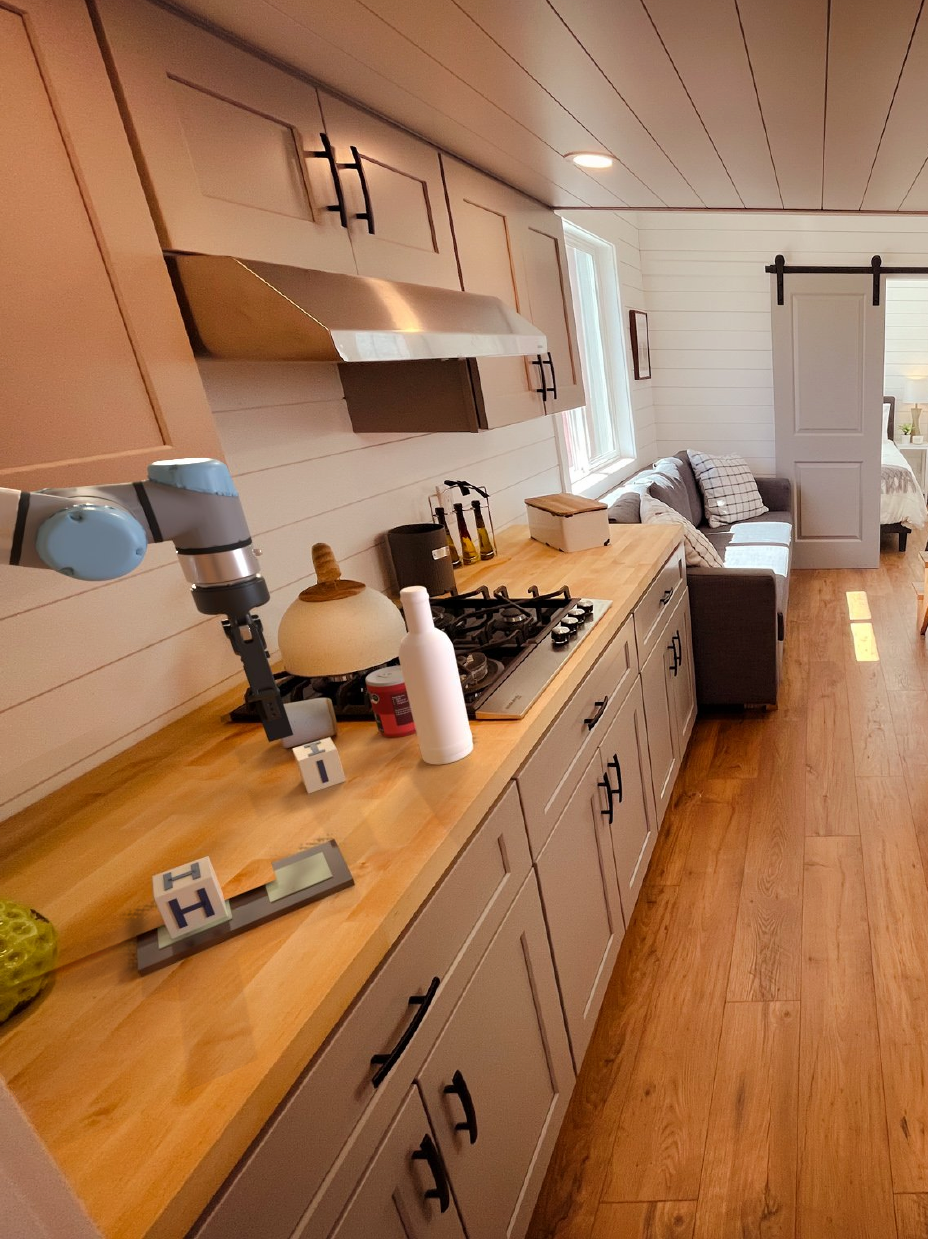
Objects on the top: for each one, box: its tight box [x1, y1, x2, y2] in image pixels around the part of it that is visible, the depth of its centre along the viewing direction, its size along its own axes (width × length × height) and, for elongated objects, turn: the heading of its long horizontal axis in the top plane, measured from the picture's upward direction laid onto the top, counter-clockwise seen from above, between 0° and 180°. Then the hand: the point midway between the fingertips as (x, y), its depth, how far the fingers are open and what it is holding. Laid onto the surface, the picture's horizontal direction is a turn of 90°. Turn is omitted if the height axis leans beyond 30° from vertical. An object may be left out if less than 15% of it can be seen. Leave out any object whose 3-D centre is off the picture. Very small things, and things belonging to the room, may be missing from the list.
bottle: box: [397, 585, 474, 766], centre depth 112 cm, size 8×8×30 cm
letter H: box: [151, 855, 228, 939], centre depth 80 cm, size 5×5×6 cm
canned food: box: [365, 665, 416, 738], centre depth 123 cm, size 8×8×11 cm
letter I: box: [292, 736, 347, 795], centre depth 108 cm, size 5×5×6 cm
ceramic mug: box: [280, 697, 339, 749], centre depth 120 cm, size 11×8×8 cm
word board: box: [135, 838, 356, 978], centre depth 84 cm, size 20×11×1 cm, turn 135°
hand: (274, 719), depth 97 cm, fingers open, 13 cm apart
